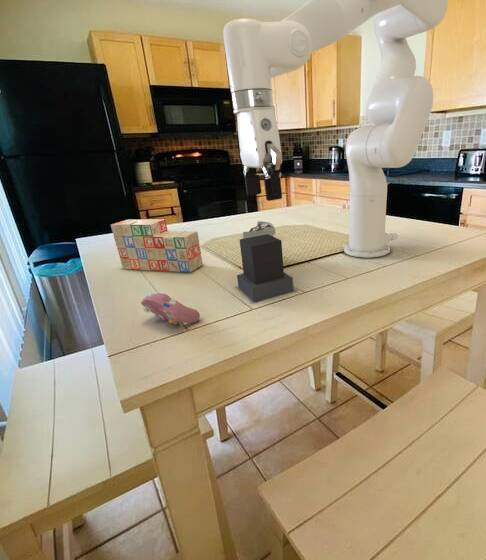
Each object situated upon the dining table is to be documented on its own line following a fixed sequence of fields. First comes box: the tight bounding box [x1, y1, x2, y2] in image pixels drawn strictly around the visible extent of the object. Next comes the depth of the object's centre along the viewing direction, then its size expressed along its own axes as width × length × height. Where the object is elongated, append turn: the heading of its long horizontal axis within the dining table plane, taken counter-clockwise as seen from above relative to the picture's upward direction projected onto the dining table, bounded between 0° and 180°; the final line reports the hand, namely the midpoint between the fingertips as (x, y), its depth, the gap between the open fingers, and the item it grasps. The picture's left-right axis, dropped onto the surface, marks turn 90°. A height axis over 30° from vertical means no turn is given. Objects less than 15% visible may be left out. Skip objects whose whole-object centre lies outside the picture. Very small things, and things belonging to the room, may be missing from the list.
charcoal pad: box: [241, 257, 285, 285], centre depth 70 cm, size 6×6×4 cm
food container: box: [242, 220, 277, 239], centre depth 86 cm, size 12×6×10 cm, turn 168°
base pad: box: [236, 272, 294, 302], centre depth 72 cm, size 9×9×3 cm
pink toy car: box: [140, 292, 201, 326], centre depth 60 cm, size 10×5×7 cm, turn 56°
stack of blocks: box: [110, 218, 204, 273], centre depth 88 cm, size 21×6×12 cm, turn 73°
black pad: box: [238, 234, 284, 266], centre depth 69 cm, size 6×6×4 cm
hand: (263, 196), depth 69 cm, fingers open, 9 cm apart
